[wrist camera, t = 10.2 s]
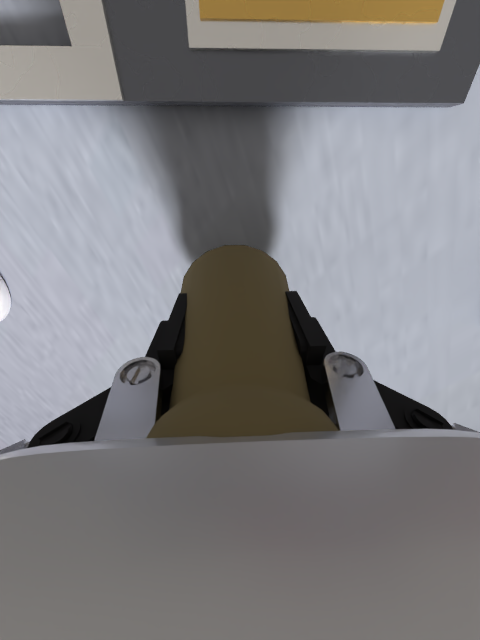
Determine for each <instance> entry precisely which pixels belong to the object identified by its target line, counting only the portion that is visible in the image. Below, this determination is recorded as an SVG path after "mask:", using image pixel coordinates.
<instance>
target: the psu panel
mask: <svg viewBox="0 0 480 640" xmlns="http://www.w3.org/2000/svg"><path fill="white" fill-rule="evenodd" d="M59 1H60V5H61V8H62V12H63V16H64V19H65V23H66V27H67V30H68V34H69V38H70V41H71V45H72V46H14V45H0V104H7V105H169V106H331V107H452V106H456V105H459V104H463V103H464V101H465V99H466V96H467V94H468V91H469V89H470V86H471V84H472V81H473V79H474V76H475V74H476V71H477V69H478V67H479V64H480V0H59Z"/></svg>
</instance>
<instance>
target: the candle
mask: <svg viewBox="0 0 480 640" xmlns="http://www.w3.org/2000/svg"><path fill="white" fill-rule="evenodd" d="M10 308H11V297H10V293H9V290H8V288H7V286H6V284H5V282H4V280H3V279H2V277H1V276H0V321H2V320H3V319H4V318H5V317H6V316H7V315H8V313H9V311H10Z"/></svg>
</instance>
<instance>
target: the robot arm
mask: <svg viewBox="0 0 480 640" xmlns="http://www.w3.org/2000/svg"><path fill="white" fill-rule="evenodd" d="M285 293H286V297H287V303H288V312H289V317H290V321H291V324H292V328H293V332H294V336H295V339H296V343H297V347H298V350H299V354H300V357H301V359H302V363H303V367H304V372H305V377H306V382H307V387H308V392H309V397H310V402H311V403H312V404H314V405H315V406H317V407H318V408H320V409H321V410H323V412H324V413H325V414H326V415H327V416H328V417H329V418H330V419H331V421H332V422H333V423H334V424H335V425H336V427H337V428H338V430H339V431H318V432H292V433H284V434H277V435H267V436H241V437H207V436H190V437H167V438H146V437H147V435H148V434H149V432H150V431H151V429H152V427H153V426H154V424H155V423H156V422H157V421H158V420H159V419H160V418H161V416H162V415H164V414H165V413H166V412H167V411H169V406H170V397H171V392H172V387H173V381H174V369H175V365H176V363H177V360H178V358H179V357H180V355H181V354H182V352H183V346H184V340H185V314H186V308H187V293H179V295H178V298H177V300H176V303H175V305H174V308H173V310H172V313H171V315H170V318H169V320H168V321H161V323H160V324H159V327H158V329H157V331H156V333H155V336H154V338H153V340H152V342H151V345H150V347H149V349H148V351H147V354H146V356H145V357H140V358H136V359H133V360H131V361H128V362H127V363H125V364H124V365H122V366H121V367H120V368H119V369H118V371H117V372H116V374H115V377H114V380H113V383H112V386H111V387H110V388H109V389H107V390H105V391H104V392H102V393H100V394H98V395H97V396H95V397H93V398H91V399H90V400H88V401H86V402H84V403H83V404H81V405H79V406H77V407H76V408H74V409H72V410H70V411H69V412H67V413H65V414H64V415H62V416H60V417H58V418H57V419H55V420H53V421H51V422H50V423H48V424H47V425H46V426H44V427H43V428H42V429H41V430H40V431H38V432H37V433H36V434H35V436H34V437H33V438H32V440H31V441H30V442H27V441H26V440H25V439H24V440H22V441H20V442H18V443H15V444H13V445H11V446H9V447H6V448H4V449H2V450H0V640H480V432H478V431H475V430H472V429H469V428H467V427H464V426H461V425H459V424H456V423H454V424H453V425H452V426H451V425H450V424H449V423H448V422H447V420H446V419H445V418H443V417H442V416H441V415H440V414H439V413H437V412H436V411H434V410H432V409H430V408H429V407H427V406H425V405H423V404H421V403H419V402H417V401H415V400H413V399H410V398H408V397H406V396H404V395H402V394H400V393H398V392H396V391H394V390H392V389H390V388H388V387H386V386H384V385H382V384H380V383H378V382H376V381H374V380H373V378H372V376H371V374H370V372H369V370H368V367H367V366H366V364H365V363H364V362H363V361H362V360H361V359H359V358H358V357H356V356H354V355H352V354H349V353H345V352H335V350H334V348H333V347H332V345H331V343H330V341H329V340H328V338H327V336H326V334H325V333H324V331H323V329H322V328H321V326H320V324H319V322H318V321H317V319H316V318H314V317H311V316H310V315H309V313H308V311H307V309H306V307H305V305H304V304H303V302H302V300H301V298H300V296H299V295H298V293H297V291H285Z"/></svg>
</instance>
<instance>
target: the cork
mask: <svg viewBox="0 0 480 640" xmlns="http://www.w3.org/2000/svg"><path fill="white" fill-rule="evenodd" d="M285 291H289V288H288V284H287V279H286V275H285V274H284V272H283V271H282V269H281V268H280V266H279V265H278V263H277V261H275V260H274V259H273V258H271V257H270V256H269V255H267V254H266V253H265V252H263V251H261V250H258V249H255V248H252V247H249V246H246V245H224V246H221V247H218V248H216V249H213V250H210V251H207V252H206V253H204V254H203V255H202V256H201V257H199V258H198V259H197V260H195V261H194V262H193V263H192V265H191V266H190V268H189V269H188V271H187V273H186V274H185V276H184V279H183V284H182V289H181V293H187V308H186V314H185V340H184V346H183V352H182V354H181V355H180V357H179V358H178V360H177V363H176V365H175V369H174V381H173V387H172V392H171V397H170V406H169V411H167V412H166V413H165V414H164V415H162V416H161V418H160V419H159V420H158V421H157V422H156V423H155V424H154V426H153V427H152V429H151V431H150V432H149V434H148V435H147V437H146V438H167V437H190V436H207V437H241V436H267V435H277V434H284V433H292V432H318V431H339V430H338V428H337V427H336V425H335V424H334V423H333V422H332V421H331V419H330V418H329V417H328V416H327V415H326V414H325V413H324V412H323V410H321V409H320V408H318V407H317V406H315V405H314V404H312V403H311V402H310V397H309V392H308V387H307V382H306V377H305V372H304V367H303V363H302V359H301V357H300V354H299V350H298V347H297V343H296V339H295V336H294V332H293V328H292V324H291V321H290V317H289V312H288V303H287V297H286V293H285Z"/></svg>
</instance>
